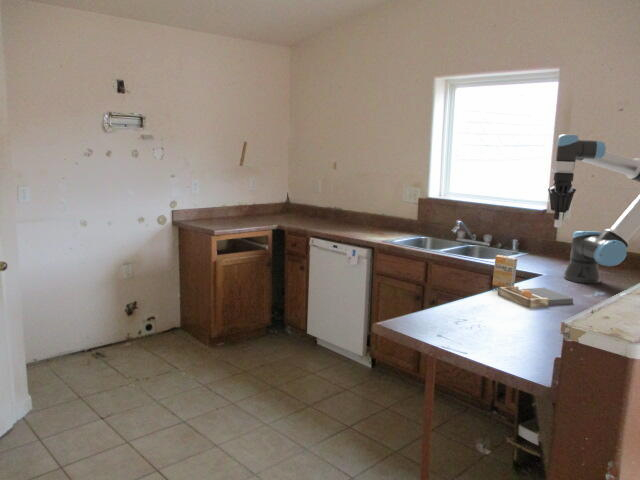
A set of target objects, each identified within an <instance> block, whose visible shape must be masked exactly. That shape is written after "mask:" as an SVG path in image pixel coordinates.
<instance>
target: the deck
mask: <svg viewBox="0 0 640 480" xmlns="http://www.w3.org/2000/svg"><path fill="white" fill-rule="evenodd" d="M524 290H529V291H530V292H531V293H532V298H531V299H536V298H549V299H548V306H554V305H566V304H567V305H568V304H573V303H574V298H573V297H571V296H568V295H565V294H562V293H560V292H557V291H554V290H552V289H549V288H546V287H533V288H519V289H518V294H519V295H521V293H522V292H523V291H524Z"/></svg>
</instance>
